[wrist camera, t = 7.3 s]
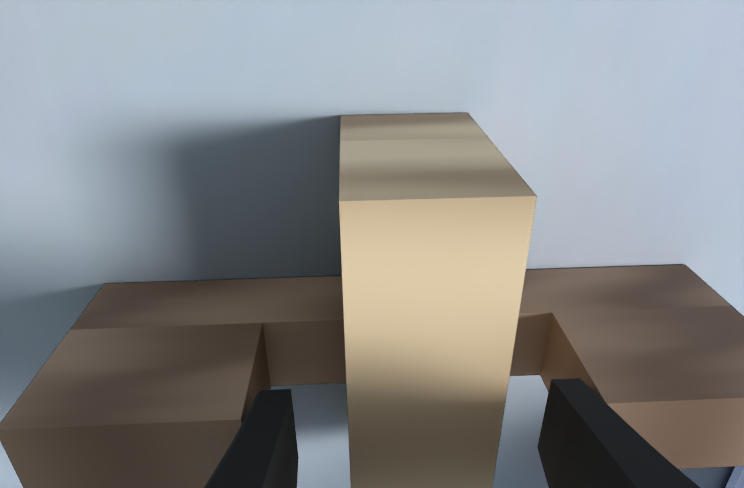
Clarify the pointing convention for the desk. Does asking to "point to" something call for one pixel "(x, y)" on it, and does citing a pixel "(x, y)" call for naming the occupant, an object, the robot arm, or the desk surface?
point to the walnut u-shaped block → (328, 365)
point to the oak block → (428, 296)
